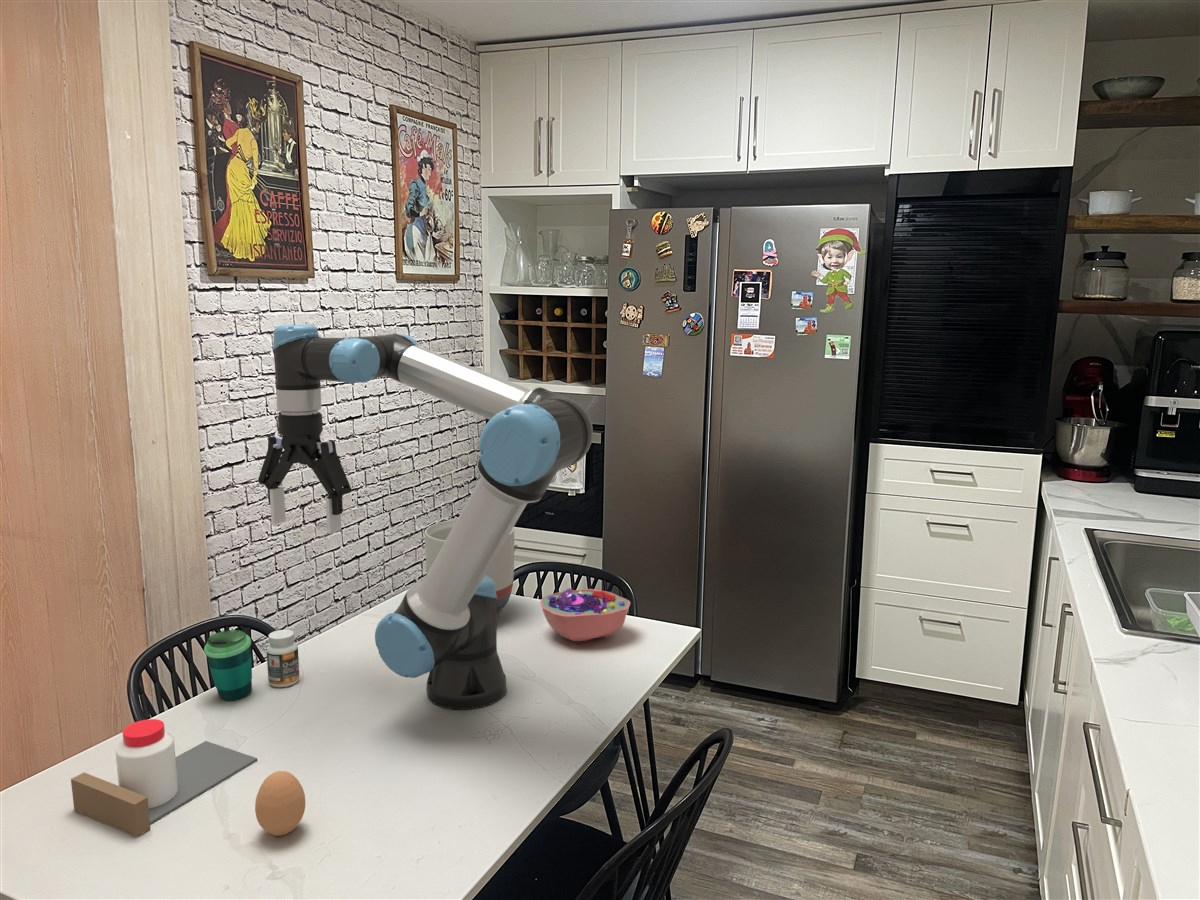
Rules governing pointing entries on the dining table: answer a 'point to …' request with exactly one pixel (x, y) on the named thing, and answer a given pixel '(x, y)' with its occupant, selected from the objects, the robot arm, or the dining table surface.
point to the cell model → (585, 613)
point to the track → (131, 809)
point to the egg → (280, 803)
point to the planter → (498, 570)
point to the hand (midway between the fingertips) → (306, 527)
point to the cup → (230, 663)
